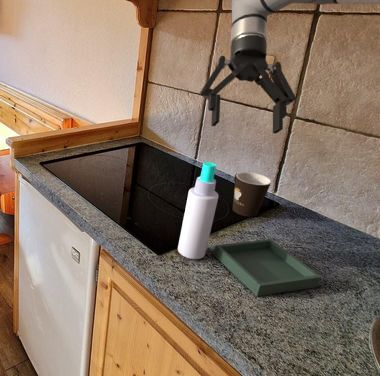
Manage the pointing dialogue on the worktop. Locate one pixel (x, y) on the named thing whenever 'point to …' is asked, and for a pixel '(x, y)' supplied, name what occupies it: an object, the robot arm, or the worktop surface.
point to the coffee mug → (249, 193)
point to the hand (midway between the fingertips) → (246, 127)
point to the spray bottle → (199, 214)
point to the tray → (266, 267)
